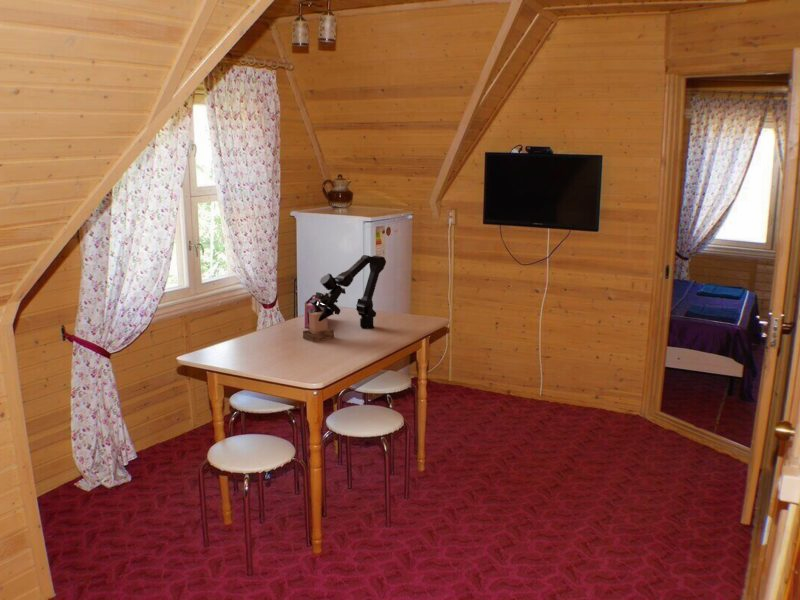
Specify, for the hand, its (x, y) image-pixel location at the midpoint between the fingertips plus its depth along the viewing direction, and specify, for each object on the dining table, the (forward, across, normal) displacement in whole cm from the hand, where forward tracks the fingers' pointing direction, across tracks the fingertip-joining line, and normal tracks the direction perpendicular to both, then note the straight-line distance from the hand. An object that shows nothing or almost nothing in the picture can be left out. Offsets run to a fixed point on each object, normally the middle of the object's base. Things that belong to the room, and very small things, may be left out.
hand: (316, 320), depth 372 cm
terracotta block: (+4, 0, +6) cm, 7 cm away
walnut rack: (+6, 0, +8) cm, 10 cm away
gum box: (-6, -26, +20) cm, 34 cm away
